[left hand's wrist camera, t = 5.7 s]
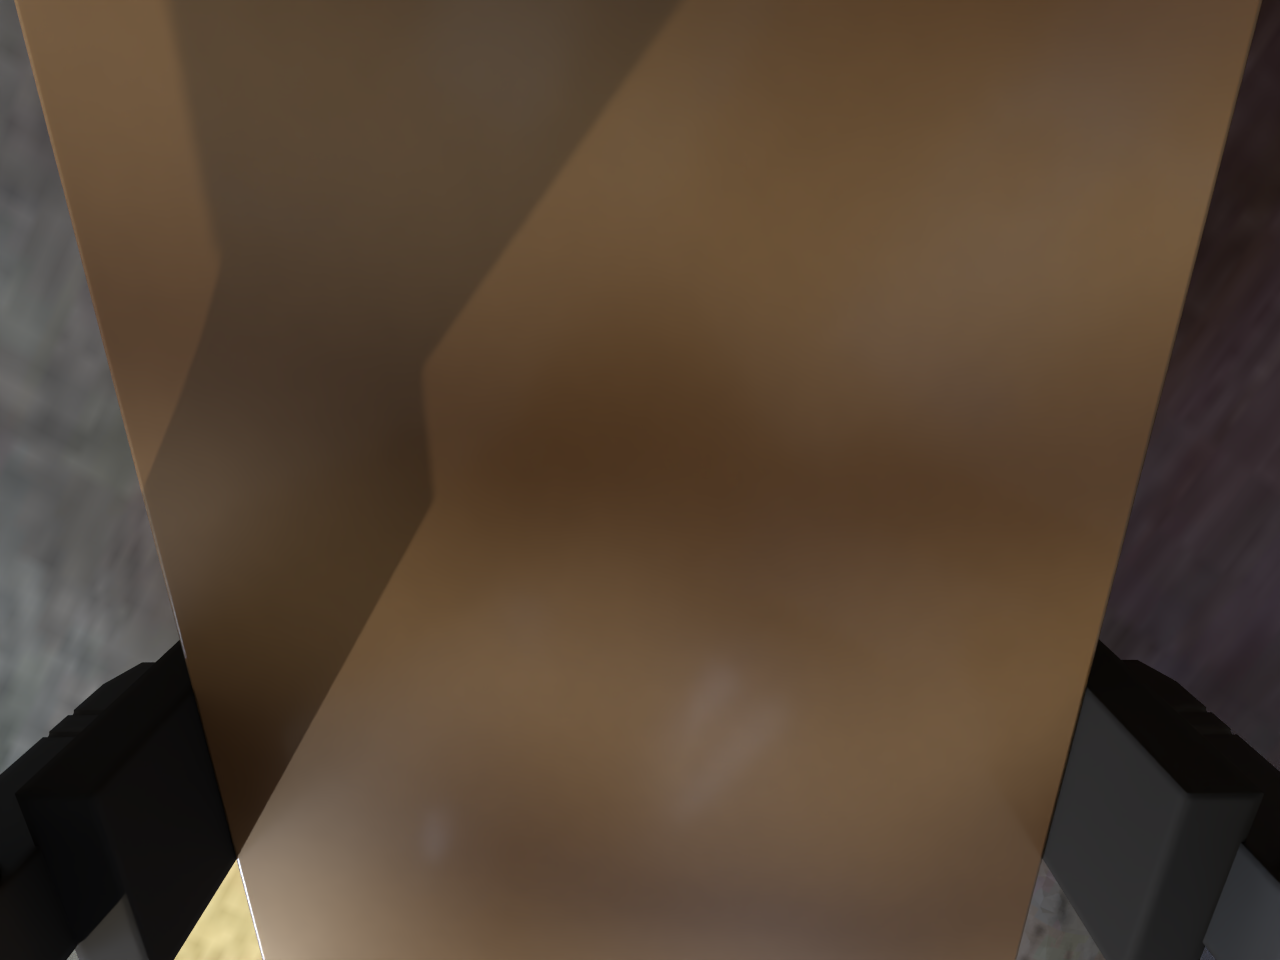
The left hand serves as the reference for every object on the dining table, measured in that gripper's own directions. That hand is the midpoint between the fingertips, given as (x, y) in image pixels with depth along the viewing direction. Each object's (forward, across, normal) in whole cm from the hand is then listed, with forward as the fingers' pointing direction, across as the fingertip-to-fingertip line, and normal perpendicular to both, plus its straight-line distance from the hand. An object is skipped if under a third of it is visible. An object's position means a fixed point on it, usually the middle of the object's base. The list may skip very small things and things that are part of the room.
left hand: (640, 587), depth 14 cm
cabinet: (+6, 0, -5) cm, 8 cm away
